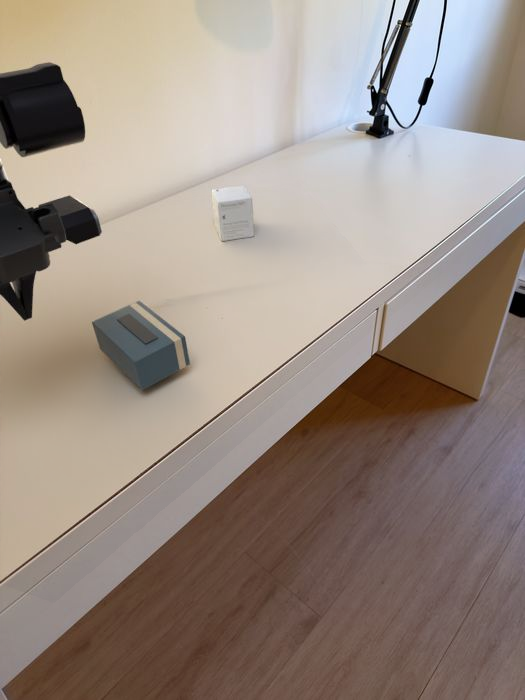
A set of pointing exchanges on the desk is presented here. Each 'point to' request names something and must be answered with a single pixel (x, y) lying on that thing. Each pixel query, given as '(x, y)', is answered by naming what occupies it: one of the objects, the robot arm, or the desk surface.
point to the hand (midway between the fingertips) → (26, 317)
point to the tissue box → (141, 344)
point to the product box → (233, 213)
